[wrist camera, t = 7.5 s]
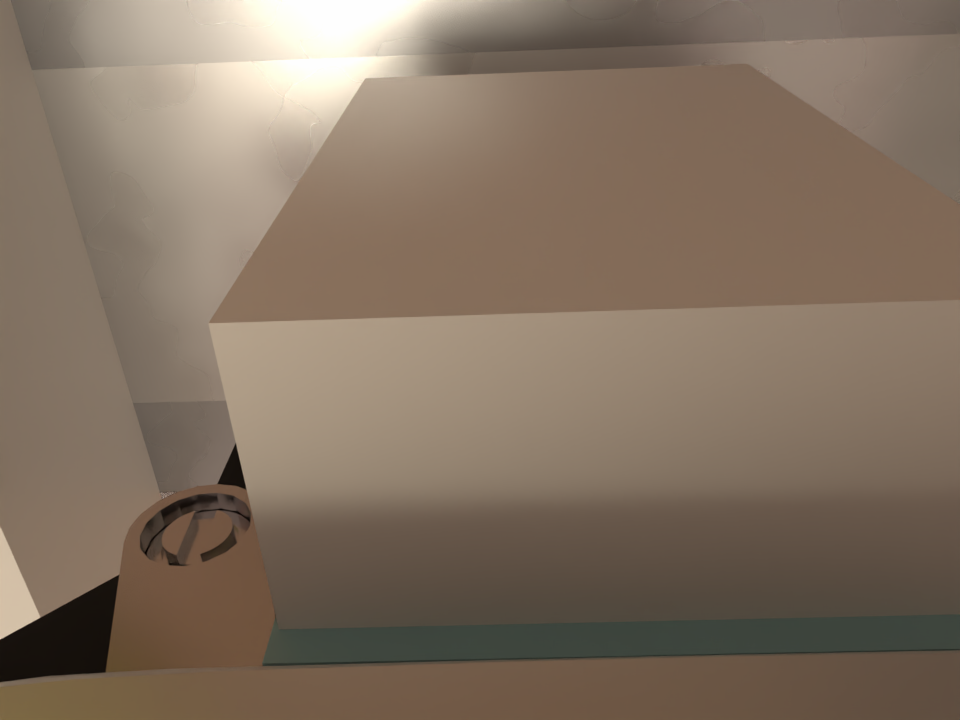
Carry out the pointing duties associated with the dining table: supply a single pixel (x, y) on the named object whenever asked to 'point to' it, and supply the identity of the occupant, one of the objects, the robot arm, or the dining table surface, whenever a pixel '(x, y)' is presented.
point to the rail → (326, 94)
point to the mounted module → (55, 378)
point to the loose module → (600, 378)
